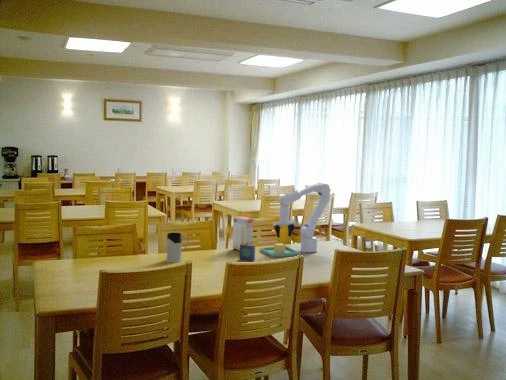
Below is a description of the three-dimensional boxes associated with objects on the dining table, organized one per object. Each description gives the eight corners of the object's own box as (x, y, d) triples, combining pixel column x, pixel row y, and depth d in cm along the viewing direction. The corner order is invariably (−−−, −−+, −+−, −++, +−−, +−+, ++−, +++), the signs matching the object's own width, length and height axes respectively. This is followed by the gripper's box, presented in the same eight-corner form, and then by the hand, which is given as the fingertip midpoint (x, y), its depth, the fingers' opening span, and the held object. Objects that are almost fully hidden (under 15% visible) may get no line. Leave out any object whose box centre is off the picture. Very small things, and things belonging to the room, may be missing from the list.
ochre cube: (281, 251, 282) (281, 243, 282) (284, 253, 277) (285, 245, 277) (274, 251, 280) (274, 243, 280) (277, 253, 276) (277, 245, 275)
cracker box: (253, 252, 281) (254, 218, 279) (245, 253, 277) (245, 219, 275) (240, 248, 292) (241, 215, 290) (232, 249, 288) (233, 216, 287)
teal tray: (286, 249, 291) (286, 246, 291) (299, 255, 274) (299, 252, 274) (260, 251, 284) (260, 247, 284) (271, 257, 268) (271, 253, 267)
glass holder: (162, 260, 256) (162, 233, 254) (182, 256, 266) (183, 230, 265) (172, 263, 250) (172, 235, 248) (192, 259, 260) (192, 232, 259)
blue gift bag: (255, 260, 260) (255, 241, 259) (253, 261, 257) (253, 242, 256) (240, 259, 263) (240, 240, 262) (238, 260, 260) (238, 241, 259)
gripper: (276, 216, 276) (275, 238, 277) (297, 215, 281) (297, 237, 282) (271, 214, 282) (271, 236, 283) (292, 214, 287) (292, 235, 289)
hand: (283, 236), depth 283 cm, fingers open, 7 cm apart
